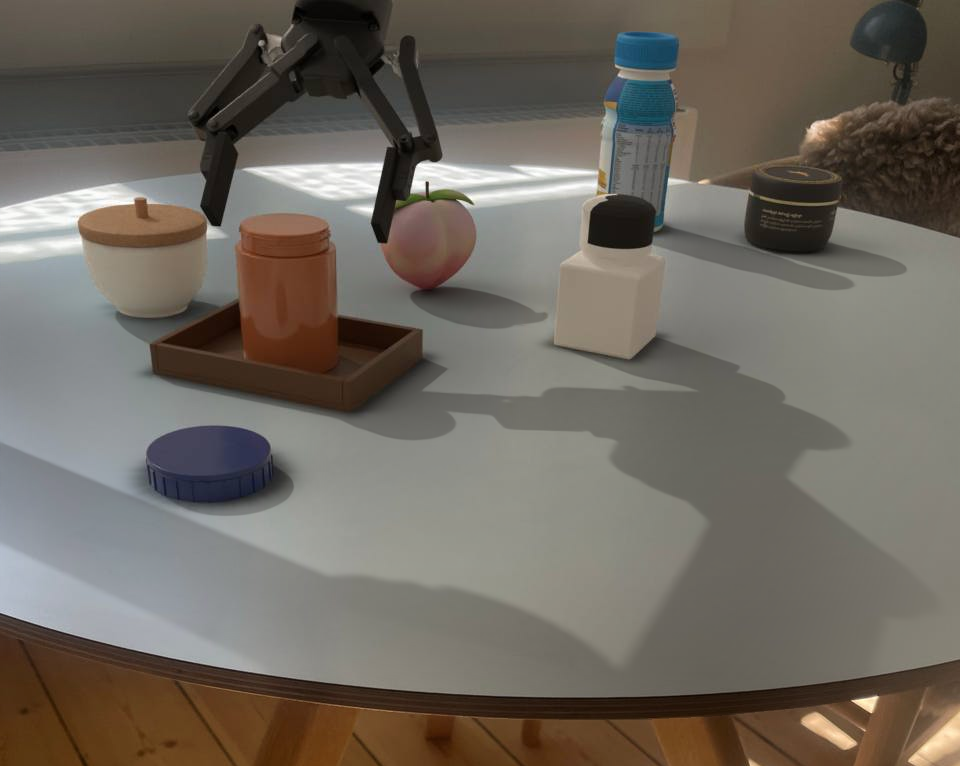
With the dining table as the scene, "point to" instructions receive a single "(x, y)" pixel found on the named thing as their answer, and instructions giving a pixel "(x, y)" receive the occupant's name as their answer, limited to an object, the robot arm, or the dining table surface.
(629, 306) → the medicine bottle
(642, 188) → the beverage bottle
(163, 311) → the trinket box
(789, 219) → the jar
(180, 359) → the tray
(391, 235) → the decorative fruit
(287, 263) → the honey jar
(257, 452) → the lid
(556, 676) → the dining table surface
